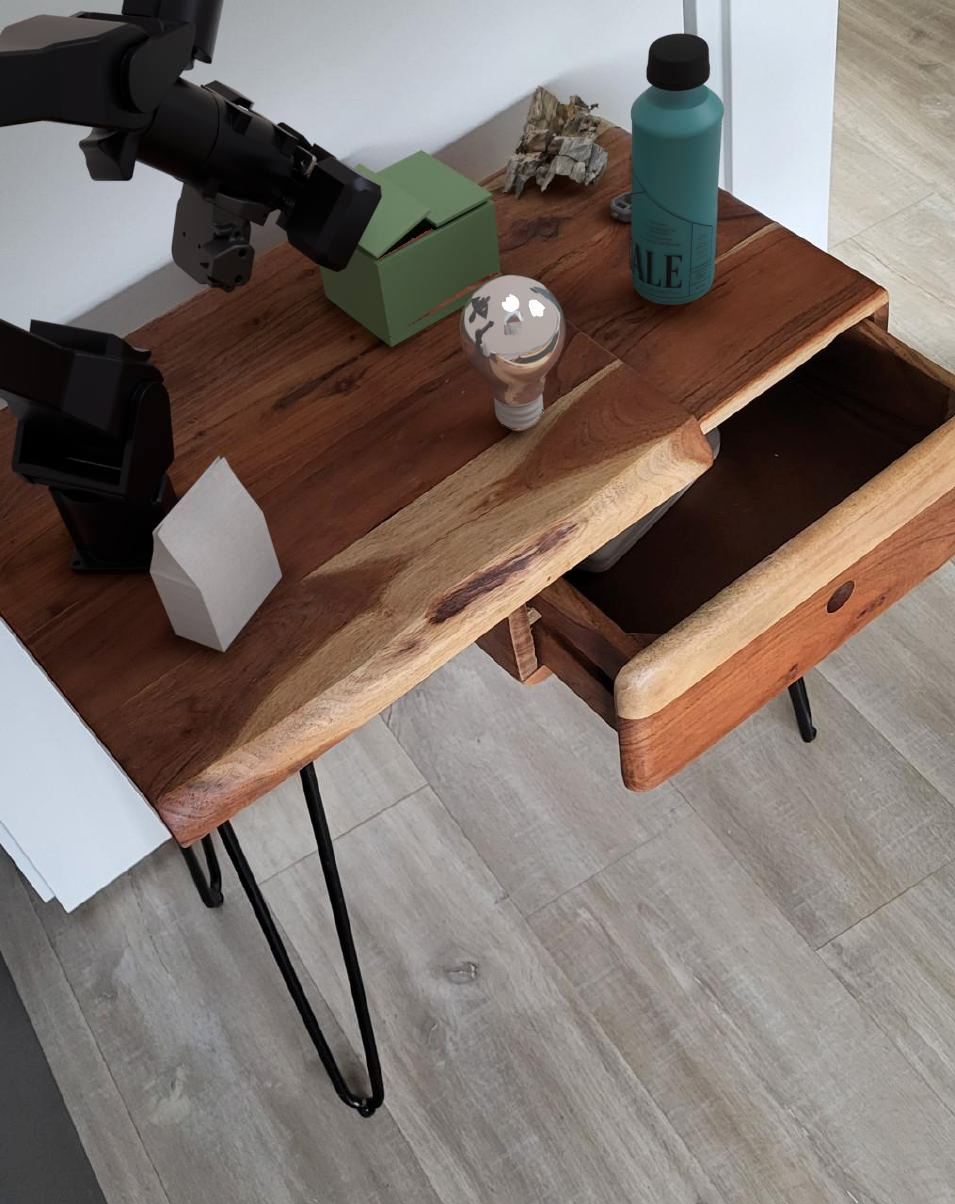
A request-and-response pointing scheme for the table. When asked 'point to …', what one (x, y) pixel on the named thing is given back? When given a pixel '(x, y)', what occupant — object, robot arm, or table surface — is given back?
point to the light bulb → (513, 343)
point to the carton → (421, 254)
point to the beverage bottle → (675, 173)
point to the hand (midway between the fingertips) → (357, 211)
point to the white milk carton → (213, 559)
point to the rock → (557, 143)
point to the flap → (389, 216)
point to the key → (619, 202)
